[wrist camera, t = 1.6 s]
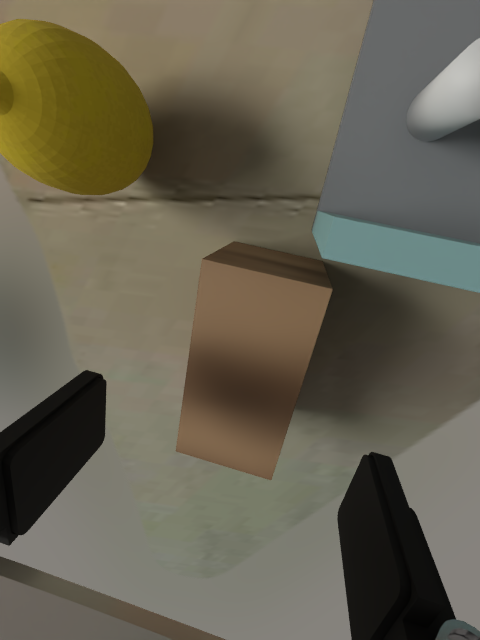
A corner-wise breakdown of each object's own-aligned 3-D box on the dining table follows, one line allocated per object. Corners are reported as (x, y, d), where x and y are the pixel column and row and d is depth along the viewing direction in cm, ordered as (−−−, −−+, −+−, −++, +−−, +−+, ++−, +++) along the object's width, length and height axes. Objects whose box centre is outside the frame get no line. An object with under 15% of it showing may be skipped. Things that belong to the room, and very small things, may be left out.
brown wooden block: (234, 241, 17) (202, 258, 11) (322, 260, 16) (332, 289, 11) (209, 385, 21) (175, 451, 15) (279, 405, 20) (271, 480, 15)
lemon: (199, 142, 15) (105, 85, 8) (135, 218, 17) (13, 228, 10) (122, 48, 14) (-62, -113, 7) (64, 139, 17) (-125, 87, 9)
